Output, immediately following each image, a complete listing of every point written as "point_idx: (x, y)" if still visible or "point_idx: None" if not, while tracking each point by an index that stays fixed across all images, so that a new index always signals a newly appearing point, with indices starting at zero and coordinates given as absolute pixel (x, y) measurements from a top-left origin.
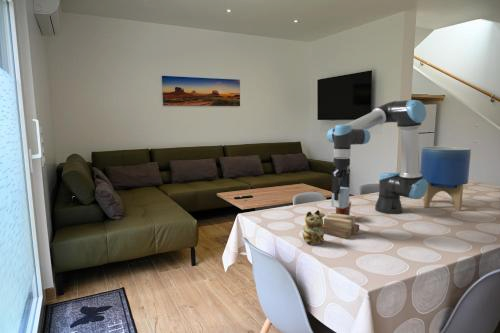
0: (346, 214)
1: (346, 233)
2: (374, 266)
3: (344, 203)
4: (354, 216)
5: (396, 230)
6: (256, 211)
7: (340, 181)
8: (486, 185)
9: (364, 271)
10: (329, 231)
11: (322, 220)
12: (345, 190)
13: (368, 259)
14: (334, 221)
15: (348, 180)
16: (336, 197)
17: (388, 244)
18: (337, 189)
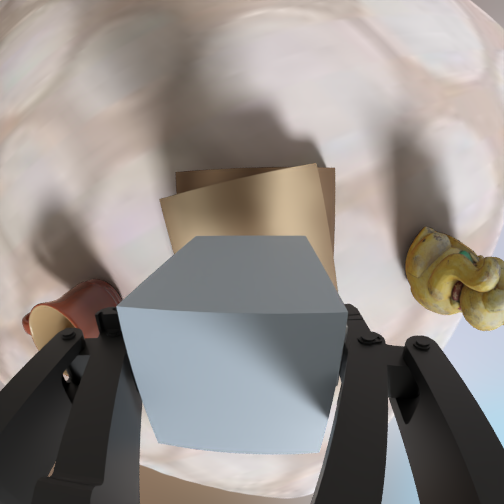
0: (93, 293)
1: (333, 168)
2: (455, 35)
3: (281, 245)
4: (171, 199)
5: (82, 81)
6: (252, 494)
7: (367, 481)
8: None
9: (489, 56)
10: None
11: (468, 260)
12: (272, 301)
13: (434, 50)
14: (331, 252)
15: (17, 401)
16: (361, 324)
17: (259, 23)
18: (423, 365)
